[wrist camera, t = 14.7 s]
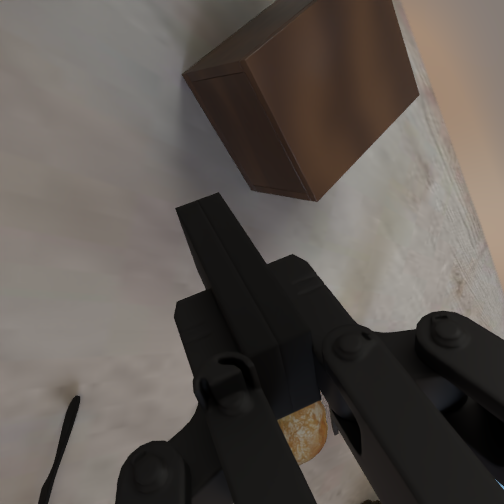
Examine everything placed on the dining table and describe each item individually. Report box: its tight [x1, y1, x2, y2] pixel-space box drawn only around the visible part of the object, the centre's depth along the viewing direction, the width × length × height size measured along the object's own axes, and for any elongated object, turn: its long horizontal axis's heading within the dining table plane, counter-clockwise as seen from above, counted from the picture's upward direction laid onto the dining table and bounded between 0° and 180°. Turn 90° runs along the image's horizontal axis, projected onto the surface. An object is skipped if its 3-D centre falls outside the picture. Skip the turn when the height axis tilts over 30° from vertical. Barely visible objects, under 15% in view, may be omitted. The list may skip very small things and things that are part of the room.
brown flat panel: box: [239, 0, 419, 202], centre depth 39 cm, size 17×14×1 cm
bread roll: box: [277, 401, 328, 465], centre depth 57 cm, size 10×10×8 cm
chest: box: [182, 0, 314, 201], centre depth 43 cm, size 16×14×9 cm
